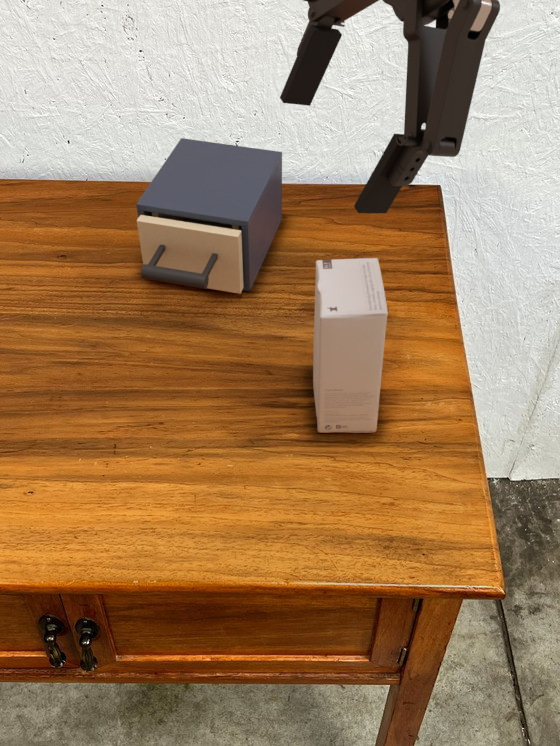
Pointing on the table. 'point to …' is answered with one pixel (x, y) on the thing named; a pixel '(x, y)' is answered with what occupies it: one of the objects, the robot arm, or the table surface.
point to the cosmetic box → (348, 344)
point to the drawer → (191, 252)
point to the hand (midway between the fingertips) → (330, 153)
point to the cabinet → (222, 193)
